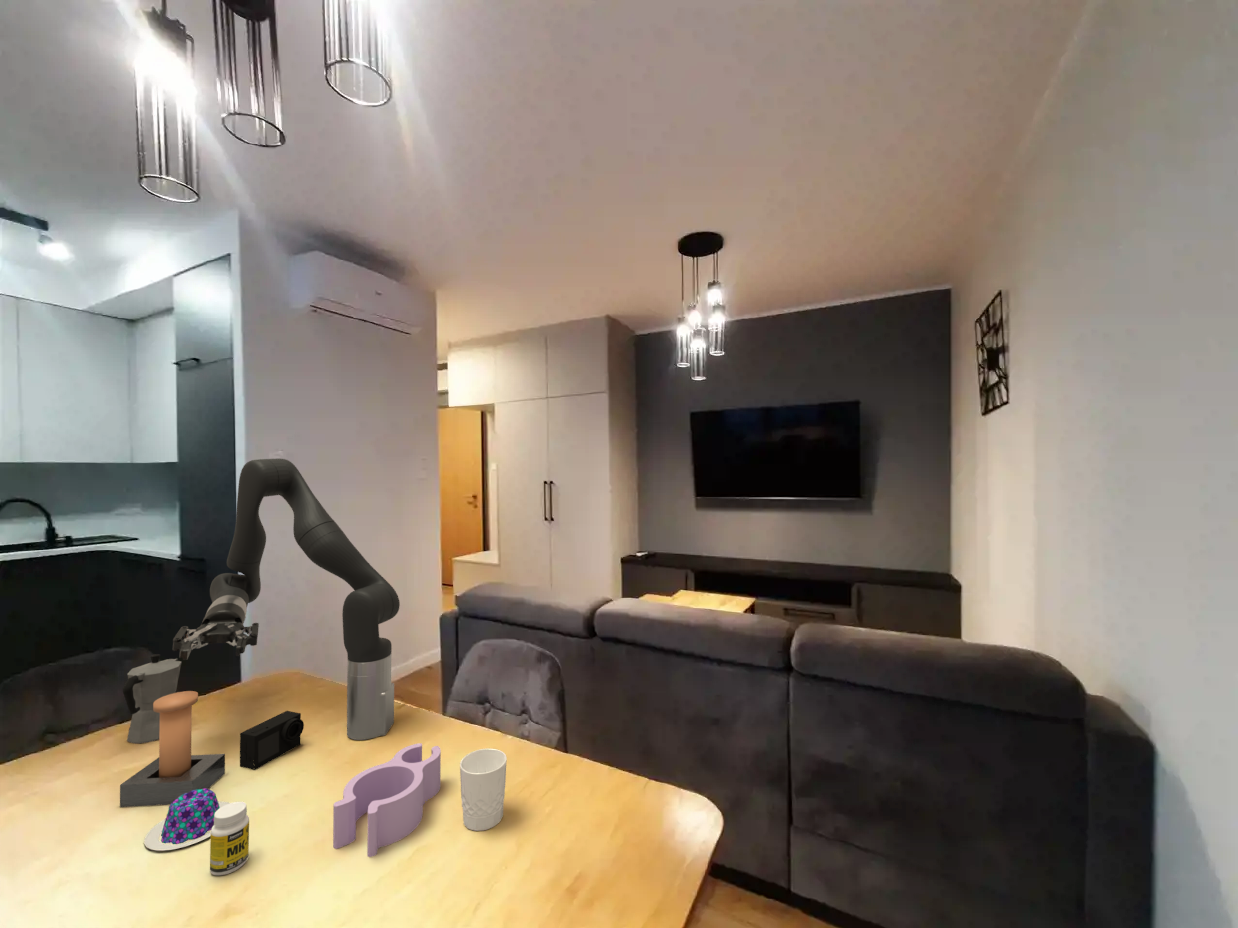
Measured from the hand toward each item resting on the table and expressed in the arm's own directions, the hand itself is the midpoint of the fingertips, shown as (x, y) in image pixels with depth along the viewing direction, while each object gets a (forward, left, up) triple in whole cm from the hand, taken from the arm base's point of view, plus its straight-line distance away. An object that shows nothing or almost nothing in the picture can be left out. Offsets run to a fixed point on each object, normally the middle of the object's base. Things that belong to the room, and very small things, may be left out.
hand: (212, 653), depth 105 cm
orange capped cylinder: (+2, +7, -23) cm, 24 cm away
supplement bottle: (-20, +28, -23) cm, 41 cm away
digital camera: (-10, -3, -23) cm, 26 cm away
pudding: (-9, +18, -24) cm, 31 cm away
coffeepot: (+22, -14, -23) cm, 35 cm away
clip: (-41, +18, -23) cm, 51 cm away
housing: (+2, +7, -23) cm, 24 cm away
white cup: (-57, +21, -23) cm, 65 cm away
